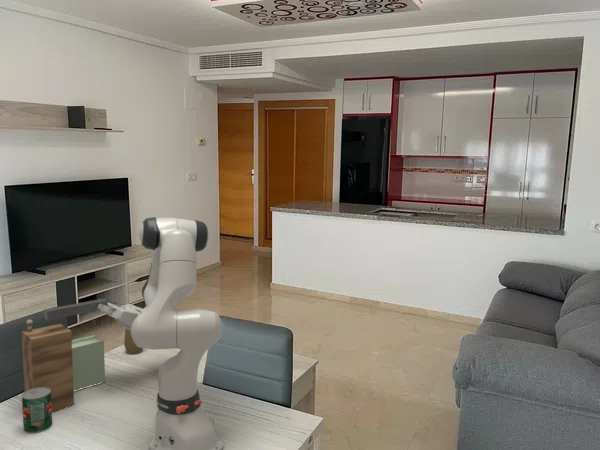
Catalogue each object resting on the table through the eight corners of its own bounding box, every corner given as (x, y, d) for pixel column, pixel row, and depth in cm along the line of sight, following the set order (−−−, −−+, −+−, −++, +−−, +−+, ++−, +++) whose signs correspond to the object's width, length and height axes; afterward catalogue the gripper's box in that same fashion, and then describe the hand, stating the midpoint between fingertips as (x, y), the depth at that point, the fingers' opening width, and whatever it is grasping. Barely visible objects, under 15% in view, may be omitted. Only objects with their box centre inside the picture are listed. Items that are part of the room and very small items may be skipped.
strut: (107, 308, 171) (107, 300, 171) (47, 320, 157) (47, 311, 157) (104, 306, 173) (103, 298, 173) (44, 318, 159) (43, 309, 159)
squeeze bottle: (140, 355, 206) (139, 314, 204) (121, 355, 206) (120, 314, 204) (146, 348, 214) (145, 309, 212) (128, 348, 214) (127, 308, 212)
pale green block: (105, 382, 180) (103, 340, 178) (63, 395, 169) (61, 351, 167) (96, 375, 185) (94, 335, 184) (54, 387, 175) (53, 344, 173)
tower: (74, 405, 162) (70, 319, 159) (35, 417, 154) (31, 327, 150) (63, 395, 169) (59, 312, 166) (25, 406, 161) (21, 319, 157)
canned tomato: (57, 424, 150) (56, 391, 149) (32, 436, 143) (30, 401, 142) (43, 417, 154) (41, 384, 153) (18, 428, 148) (16, 394, 146)
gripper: (119, 302, 187) (87, 290, 177) (145, 314, 172) (112, 301, 163) (111, 317, 185) (79, 306, 176) (137, 331, 171) (103, 319, 162)
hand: (95, 304), depth 169 cm, fingers closed on strut, 3 cm apart
